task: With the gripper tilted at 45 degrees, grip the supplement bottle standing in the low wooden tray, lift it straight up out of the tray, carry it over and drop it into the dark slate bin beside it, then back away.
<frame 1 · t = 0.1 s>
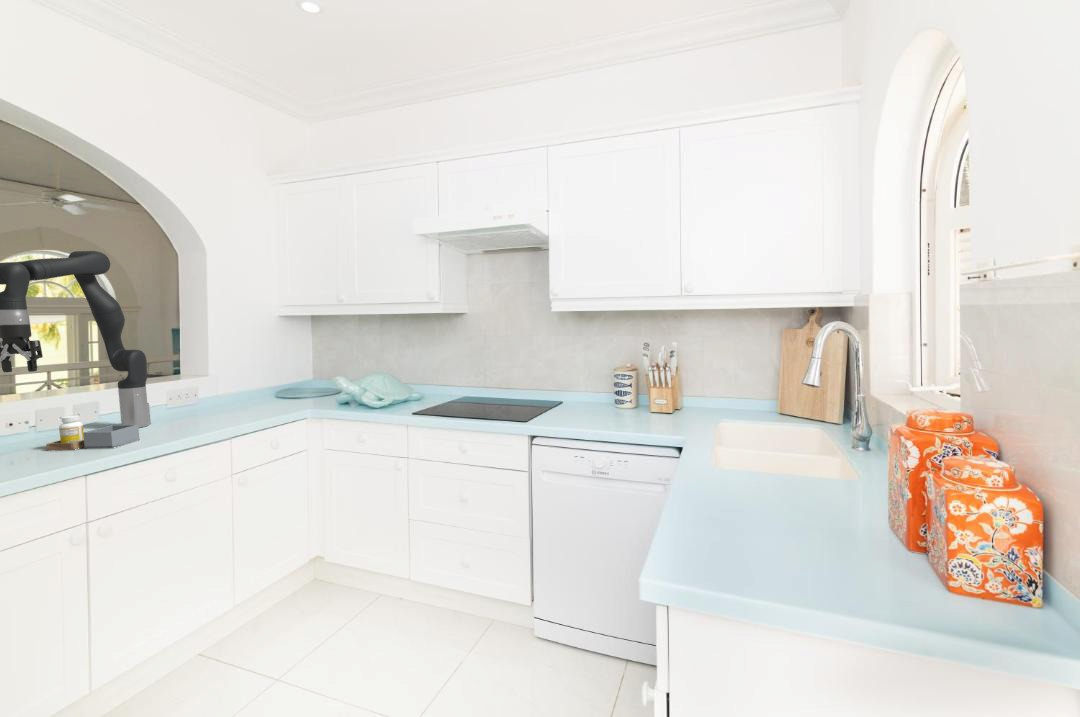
hand: (20, 371, 167), 29 cm above the worktop, tool pointing down, fingers open, 8 cm apart
wooden tray: (73, 447, 181), on the worktop
supplement bottle: (73, 447, 181), resting in wooden tray
bin: (113, 444, 184), on the worktop
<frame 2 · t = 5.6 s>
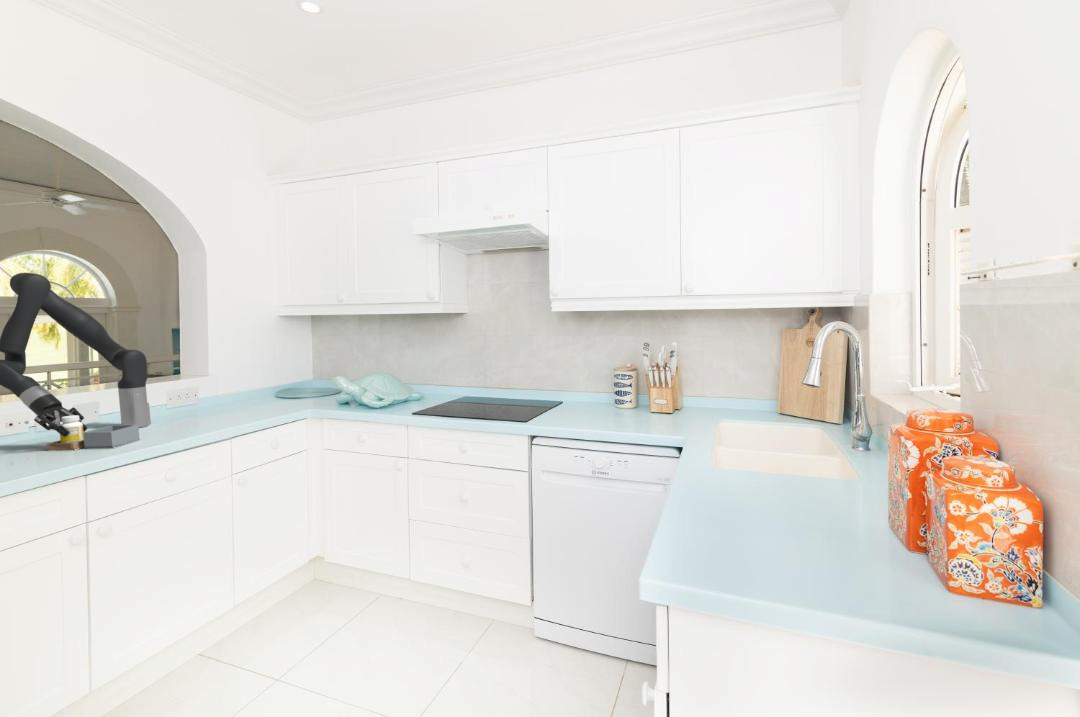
hand: (76, 432, 181), 5 cm above the worktop, tool tilted 45°, fingers closed on supplement bottle, 6 cm apart
supplement bottle: (73, 447, 181), resting in wooden tray, touching gripper
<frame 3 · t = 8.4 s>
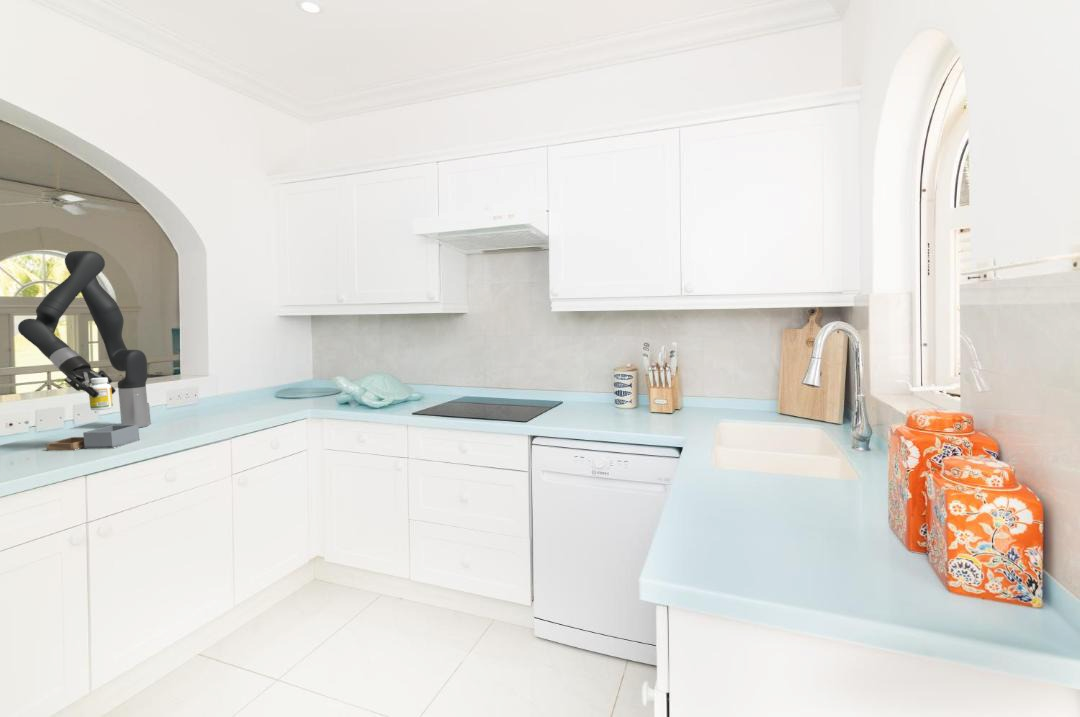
hand: (105, 394, 182), 19 cm above the worktop, tool tilted 45°, fingers closed on supplement bottle, 6 cm apart
supplement bottle: (102, 409, 182), point 13 cm above the worktop, touching gripper
when the fingers open (9 cm above the worktop, at t = 11.5 s): supplement bottle drops 2 cm, resting on bin.
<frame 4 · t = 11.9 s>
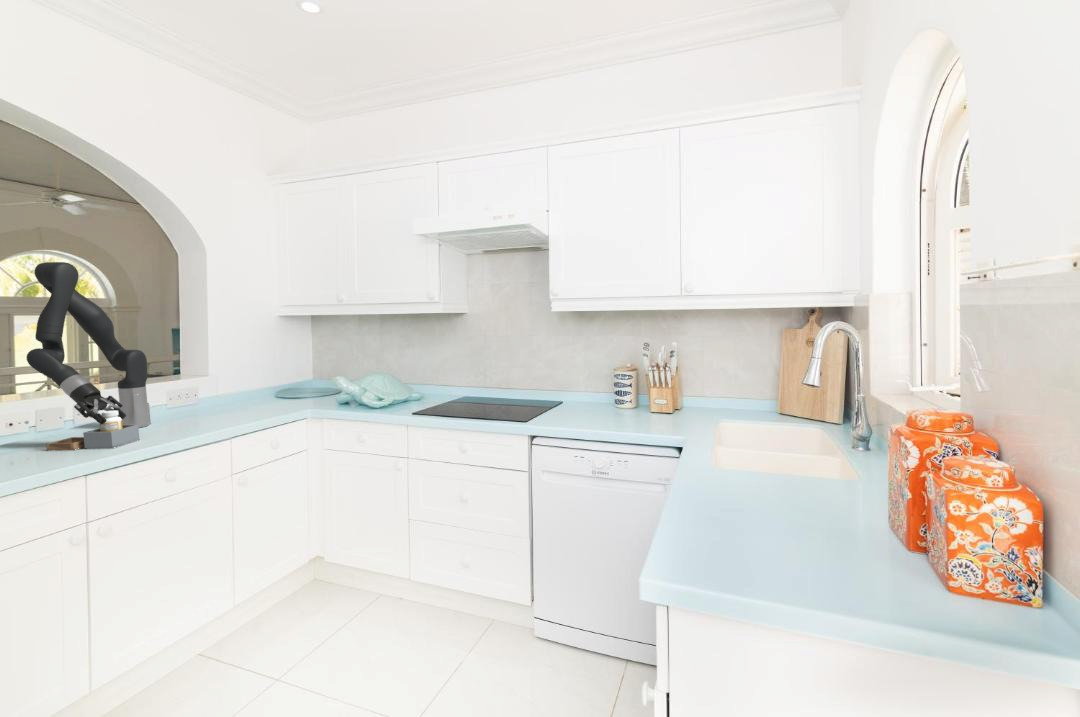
hand: (114, 420, 183), 9 cm above the worktop, tool tilted 45°, fingers open, 8 cm apart
supplement bottle: (112, 442, 184), point 1 cm above the worktop, touching bin
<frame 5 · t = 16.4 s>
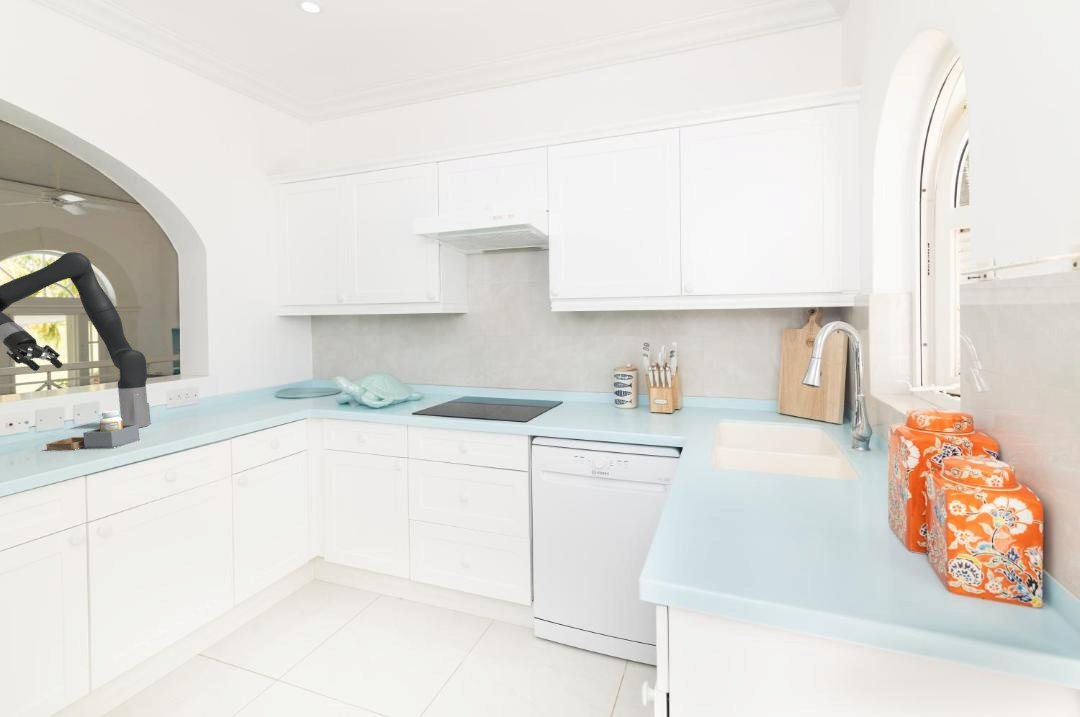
hand: (49, 367, 183), 29 cm above the worktop, tool tilted 45°, fingers open, 8 cm apart
nothing on the worktop moved.
at the end: supplement bottle inside the target area on the bin (0.3 cm from its centre), point 0.8 cm above the bin's base; the gripper is holding nothing; supplement bottle moved 12.2 cm from its start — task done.
